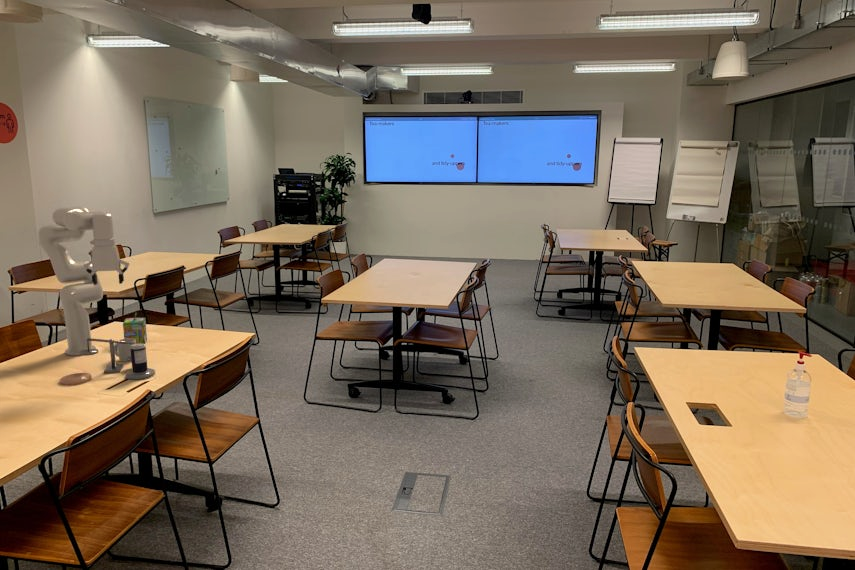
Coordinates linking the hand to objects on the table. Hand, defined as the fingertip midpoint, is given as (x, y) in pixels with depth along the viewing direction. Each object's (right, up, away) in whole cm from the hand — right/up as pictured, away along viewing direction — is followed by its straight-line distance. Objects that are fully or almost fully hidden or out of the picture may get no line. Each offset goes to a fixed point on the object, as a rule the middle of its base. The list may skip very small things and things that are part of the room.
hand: (108, 283), depth 258 cm
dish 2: (+15, -38, -4) cm, 41 cm away
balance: (+1, -37, +3) cm, 37 cm away
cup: (0, -34, +16) cm, 37 cm away
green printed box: (-7, -29, +40) cm, 50 cm away
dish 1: (-8, -39, -10) cm, 41 cm away
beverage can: (+15, -37, -4) cm, 40 cm away
